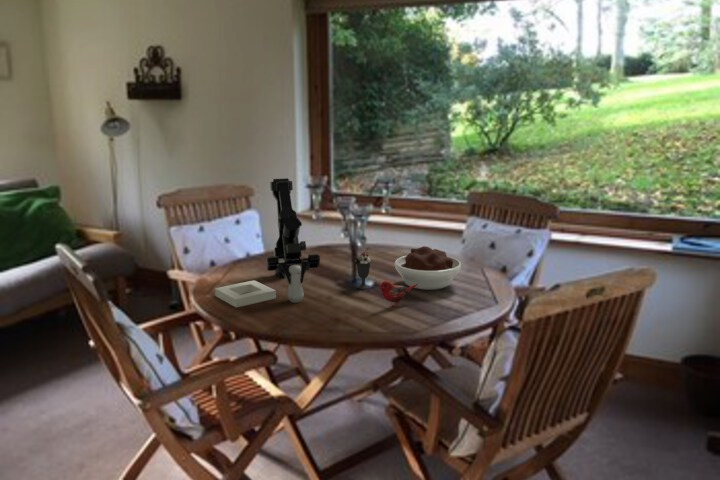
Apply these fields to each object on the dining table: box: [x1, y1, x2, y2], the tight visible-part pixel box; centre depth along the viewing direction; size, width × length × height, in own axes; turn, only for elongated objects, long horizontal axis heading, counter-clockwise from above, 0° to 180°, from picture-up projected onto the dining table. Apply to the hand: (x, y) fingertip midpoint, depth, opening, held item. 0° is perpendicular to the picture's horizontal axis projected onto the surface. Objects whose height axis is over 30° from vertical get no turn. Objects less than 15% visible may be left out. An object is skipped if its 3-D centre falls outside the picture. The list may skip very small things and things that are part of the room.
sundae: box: [354, 248, 373, 290], centre depth 244 cm, size 7×7×15 cm
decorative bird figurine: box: [379, 280, 418, 308], centre depth 225 cm, size 3×18×10 cm, turn 128°
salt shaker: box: [287, 264, 305, 304], centre depth 229 cm, size 6×6×13 cm
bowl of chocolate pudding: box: [394, 245, 462, 291], centre depth 246 cm, size 25×25×15 cm
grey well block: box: [214, 279, 277, 308], centre depth 235 cm, size 16×16×3 cm
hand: (295, 283), depth 228 cm, fingers open, 4 cm apart
